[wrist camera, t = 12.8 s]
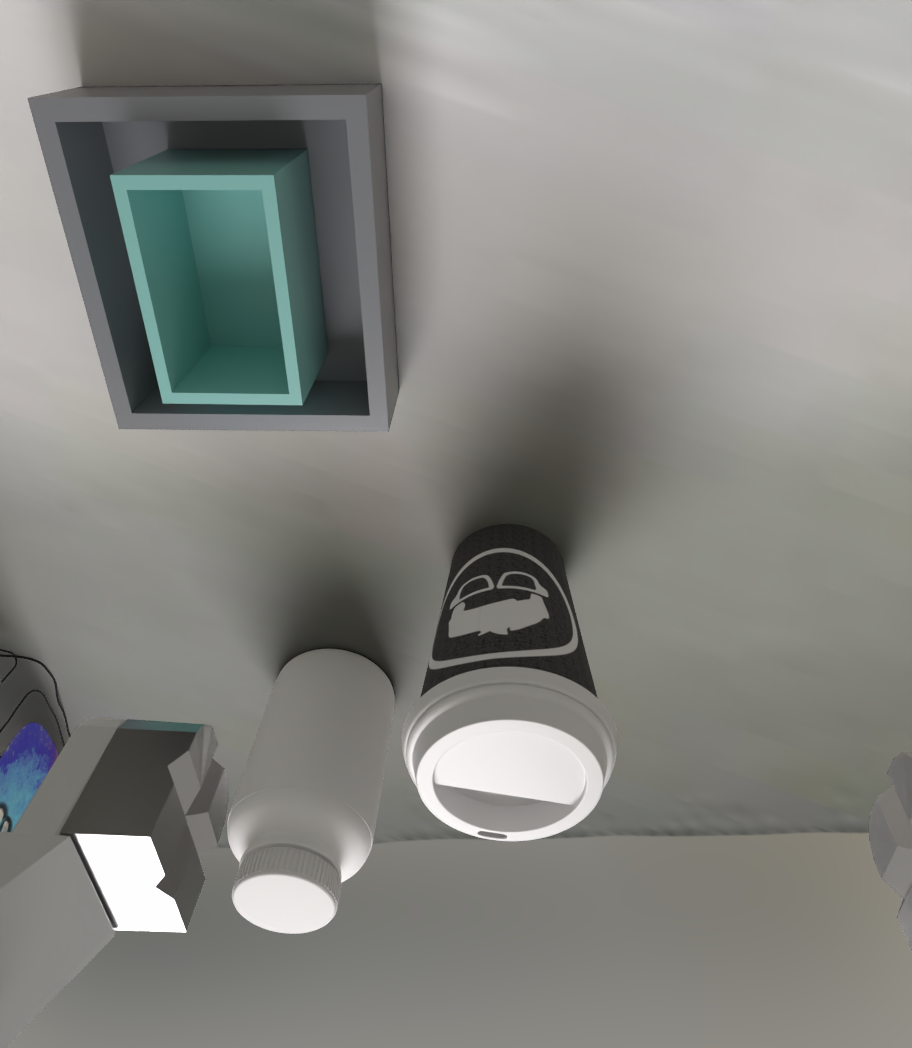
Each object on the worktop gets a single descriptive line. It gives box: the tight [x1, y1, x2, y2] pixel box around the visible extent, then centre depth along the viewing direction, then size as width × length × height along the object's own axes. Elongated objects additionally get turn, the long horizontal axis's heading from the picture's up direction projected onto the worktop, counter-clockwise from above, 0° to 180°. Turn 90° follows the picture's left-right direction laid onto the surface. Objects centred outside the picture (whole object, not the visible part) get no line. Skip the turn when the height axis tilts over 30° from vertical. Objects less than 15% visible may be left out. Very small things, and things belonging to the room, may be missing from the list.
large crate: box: [28, 84, 399, 432], centre depth 35 cm, size 13×14×4 cm
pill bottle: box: [227, 649, 395, 933], centre depth 46 cm, size 8×8×15 cm
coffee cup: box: [402, 525, 618, 841], centre depth 40 cm, size 10×10×15 cm
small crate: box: [110, 149, 328, 405], centre depth 33 cm, size 6×9×6 cm, turn 0°
